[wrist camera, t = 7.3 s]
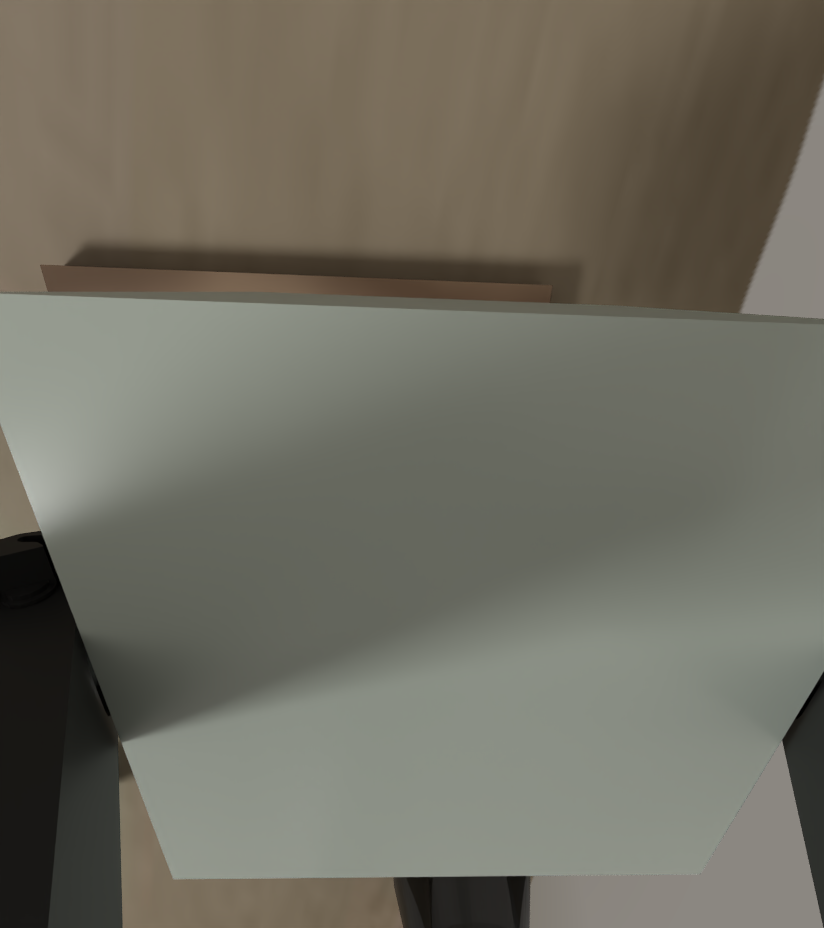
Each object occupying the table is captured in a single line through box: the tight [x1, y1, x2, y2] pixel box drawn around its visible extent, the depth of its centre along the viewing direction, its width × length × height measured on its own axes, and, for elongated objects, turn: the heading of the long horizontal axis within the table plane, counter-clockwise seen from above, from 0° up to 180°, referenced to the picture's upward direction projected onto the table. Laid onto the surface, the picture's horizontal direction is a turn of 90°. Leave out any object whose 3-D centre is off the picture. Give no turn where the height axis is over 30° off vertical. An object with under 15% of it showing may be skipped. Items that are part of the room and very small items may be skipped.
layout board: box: [40, 265, 553, 303], centre depth 25 cm, size 13×27×2 cm, turn 88°
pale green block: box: [0, 292, 824, 879], centre depth 10 cm, size 11×11×9 cm
